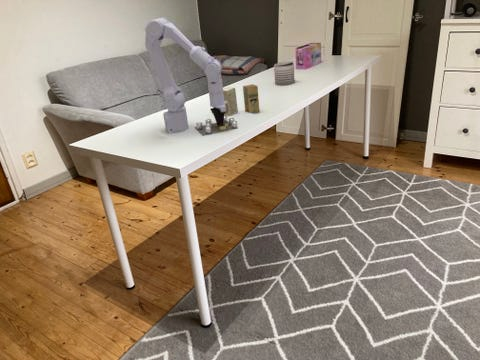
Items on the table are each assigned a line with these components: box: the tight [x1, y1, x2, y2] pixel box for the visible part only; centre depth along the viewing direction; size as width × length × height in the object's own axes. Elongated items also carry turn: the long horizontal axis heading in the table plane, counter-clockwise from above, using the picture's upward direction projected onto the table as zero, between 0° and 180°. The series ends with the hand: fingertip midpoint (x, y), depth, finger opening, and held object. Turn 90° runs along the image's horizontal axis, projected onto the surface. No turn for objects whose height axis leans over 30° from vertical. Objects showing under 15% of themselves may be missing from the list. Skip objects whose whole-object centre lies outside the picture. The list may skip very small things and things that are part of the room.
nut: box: [217, 123, 228, 131], centre depth 158 cm, size 4×5×2 cm
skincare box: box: [223, 86, 239, 117], centre depth 175 cm, size 6×4×12 cm
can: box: [273, 60, 296, 87], centre depth 223 cm, size 11×11×12 cm
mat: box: [193, 119, 239, 137], centre depth 161 cm, size 15×13×1 cm
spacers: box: [195, 115, 239, 135], centre depth 160 cm, size 15×12×2 cm
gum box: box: [295, 42, 322, 70], centre depth 265 cm, size 24×8×14 cm, turn 143°
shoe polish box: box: [242, 84, 260, 115], centre depth 177 cm, size 5×5×12 cm
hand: (220, 125), depth 161 cm, fingers closed
